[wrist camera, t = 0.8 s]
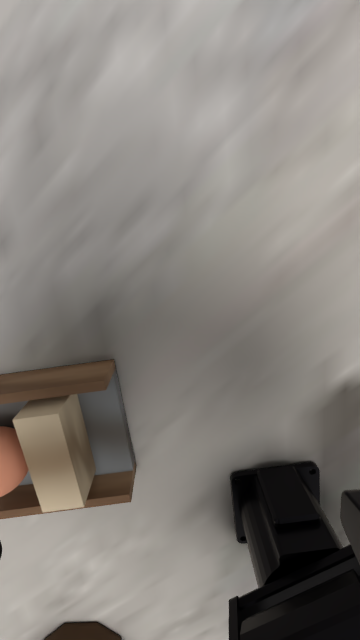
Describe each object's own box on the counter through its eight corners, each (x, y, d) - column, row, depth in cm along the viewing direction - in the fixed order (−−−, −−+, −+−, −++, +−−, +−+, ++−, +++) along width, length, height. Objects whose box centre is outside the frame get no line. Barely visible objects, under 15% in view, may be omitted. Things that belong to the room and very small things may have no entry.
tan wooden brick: (96, 469, 21) (84, 507, 18) (60, 474, 21) (42, 512, 18) (75, 386, 19) (58, 413, 16) (36, 391, 19) (12, 419, 16)
